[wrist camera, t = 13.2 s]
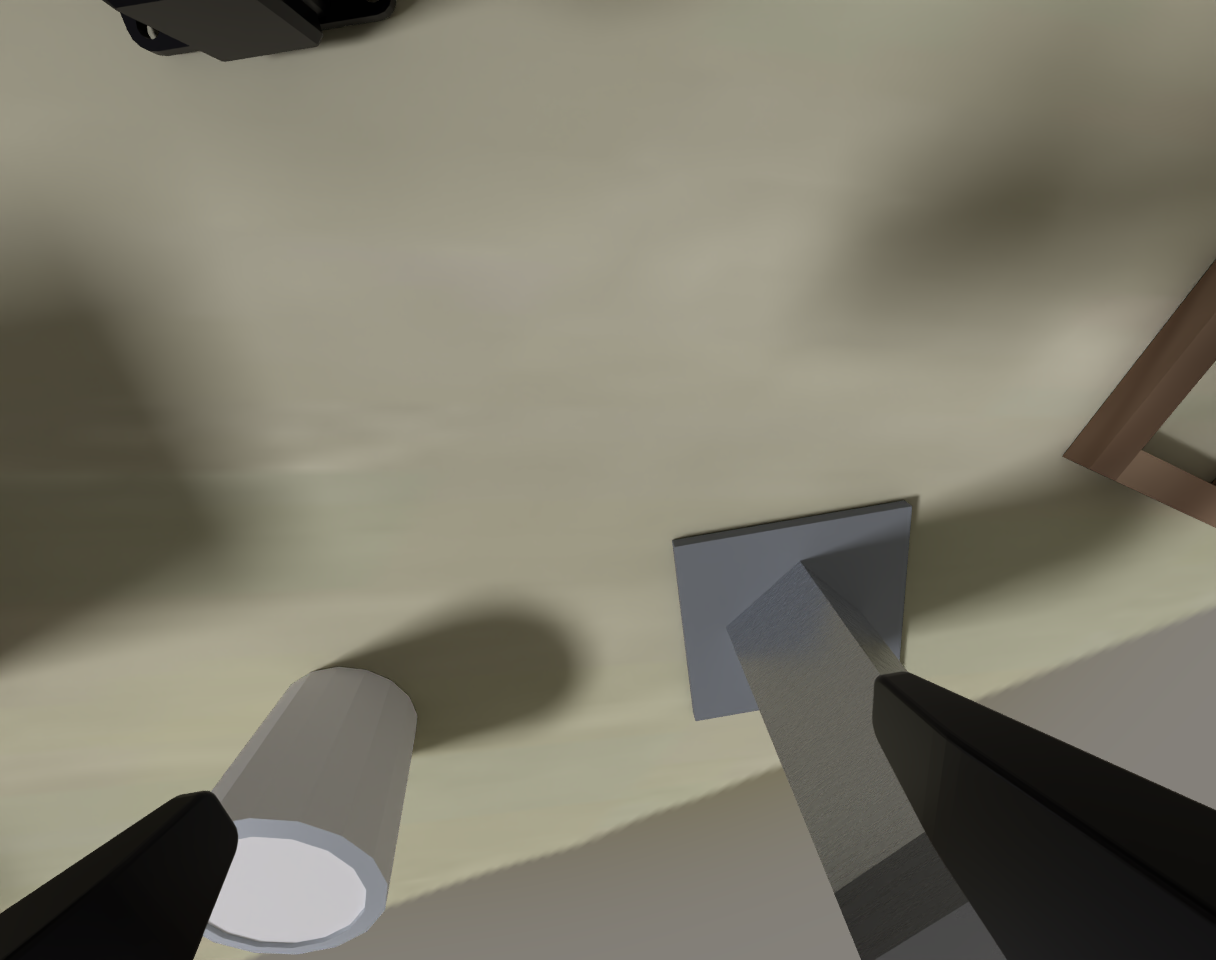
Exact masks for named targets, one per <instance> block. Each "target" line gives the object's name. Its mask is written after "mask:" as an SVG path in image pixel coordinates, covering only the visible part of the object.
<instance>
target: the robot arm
mask: <svg viewBox="0 0 1216 960" xmlns="http://www.w3.org/2000/svg"><path fill="white" fill-rule="evenodd" d="M103 1H104V2H105V3H107V4H108V5H110V6H111V7H112V8H114V9H115V10H117V11H119V12H120V13H121V16H122V18H123V21H124V23H125V26H126V28H127V30H128V32H129V34H130V35H131V37H132V39H133V40H134V41H135V42H136V43H137V44H138V45H139V46H140V47H142V48H144V49H146V50H148V51H150V52H153V53H155V54H158V55H162V56H170V55H176V54H182V53H188V52H194V51H202V52H204V53H206V54H208V55H210V56H212V57H214V58H216V59H218V60H220V61H224V62H226V61H233V60H239V59H245V58H251V57H257V56H263V55H269V54H275V53H281V52H287V51H293V50H299V49H305V48H311V47H316V46H318V45H319V43H320V41H321V39H322V38H323V32H322V30H326V29H332V28H338V27H344V26H350V25H356V24H363V23H369V22H375V21H381V20H384V19H386V18H388V17H389V16H390V15H391V14H392V13H393V11H394V9H395V5H396V0H379V1H377V2H375V3H372V2H368V1H367V0H103ZM147 25H148V26H150V27H152V28H154V29H156V30H158V31H159V34H158V37H157V38H155V39H153V40H152V39H151V37H150V36H149V34H148V31H147ZM872 724H873V729H874V733H875V735H876V738H877V740H878V742H879V744H880V746H881V748H882V750H883V752H884V754H885V756H886V758H887V760H888V762H889V764H890V766H891V768H892V769H893V771H894V773H895V775H896V777H897V779H898V781H899V783H900V785H901V787H902V789H903V791H904V793H905V794H906V796H907V798H908V800H909V802H910V804H911V806H912V808H913V810H914V812H915V814H916V816H917V818H918V819H919V821H920V823H921V825H922V827H923V829H924V831H925V833H926V834H927V836H928V838H929V840H930V842H931V843H932V845H933V847H934V848H935V850H936V852H937V853H938V855H939V856H940V858H941V860H942V861H943V863H944V865H945V866H946V868H947V869H948V871H949V872H950V874H951V875H952V877H953V878H954V880H955V881H956V883H957V884H958V886H959V887H960V889H961V890H962V892H963V894H964V895H965V897H966V898H967V900H968V901H969V903H970V904H971V906H972V907H973V909H974V910H975V912H976V913H977V915H978V916H979V918H980V920H981V921H982V923H983V924H984V926H985V927H986V929H987V930H988V932H989V933H990V935H991V936H992V938H993V939H994V941H995V942H996V944H997V946H998V947H999V949H1000V950H1001V952H1002V953H1003V955H1004V956H1005V958H1006V959H1007V960H1216V810H1214V809H1212V808H1210V807H1208V806H1205V805H1203V804H1201V803H1198V802H1197V801H1194V800H1192V799H1190V798H1188V797H1185V796H1183V795H1181V794H1179V793H1177V792H1174V791H1172V790H1170V789H1167V788H1165V787H1163V786H1161V785H1159V784H1157V783H1154V782H1152V781H1150V780H1148V779H1145V778H1143V777H1141V776H1139V775H1136V774H1134V773H1132V772H1130V771H1128V770H1125V769H1123V768H1121V767H1119V766H1116V765H1114V764H1112V763H1110V762H1108V761H1105V760H1103V759H1101V758H1099V757H1096V756H1094V755H1092V754H1090V753H1087V752H1085V751H1083V750H1081V749H1079V748H1076V747H1074V746H1072V745H1070V744H1067V743H1065V742H1063V741H1061V740H1059V739H1056V738H1054V737H1052V736H1050V735H1047V734H1045V733H1043V732H1041V731H1038V730H1036V729H1034V728H1032V727H1030V726H1027V725H1025V724H1023V723H1021V722H1019V721H1016V720H1014V719H1012V718H1009V717H1007V716H1005V715H1003V714H1001V713H999V712H996V711H994V710H992V709H990V708H987V707H985V706H983V705H981V704H978V703H976V702H974V701H972V700H970V699H967V698H965V697H963V696H961V695H958V694H956V693H954V692H952V691H950V690H947V689H945V688H943V687H941V686H938V685H936V684H934V683H932V682H930V681H927V680H925V679H923V678H921V677H918V676H916V675H914V674H912V673H909V672H905V671H901V672H895V673H889V674H883V675H879V676H878V677H877V678H876V679H875V681H874V691H873V708H872ZM237 845H238V831H237V828H236V826H235V824H234V822H233V821H232V819H231V818H230V816H229V815H228V813H227V812H226V810H225V809H224V807H223V806H222V804H221V803H220V801H219V800H218V798H217V796H216V795H215V794H214V793H212V792H210V791H199V792H194V793H188V794H182V795H179V796H176V797H175V798H173V799H171V800H169V801H168V802H166V803H165V804H163V805H162V806H160V807H159V808H157V809H156V810H154V811H153V812H151V813H150V814H148V815H147V816H145V817H144V818H142V819H141V820H139V821H138V822H136V823H135V824H133V825H132V826H130V827H129V828H127V829H126V830H124V831H123V832H121V833H120V834H119V835H117V836H116V837H114V838H113V839H111V840H110V841H108V842H107V843H105V844H104V845H102V846H101V847H99V848H98V849H96V850H95V851H93V852H92V853H90V854H89V855H87V856H86V857H84V858H83V859H81V860H80V861H78V862H77V863H75V864H74V865H72V866H71V867H69V868H68V869H66V870H65V871H63V872H62V873H60V874H59V875H57V876H56V877H54V878H53V879H51V880H50V881H48V882H47V883H45V884H44V885H42V886H41V887H39V888H38V889H36V890H35V891H33V892H32V893H30V894H29V895H27V896H26V897H24V898H23V899H21V900H20V901H18V902H17V903H15V904H14V905H12V906H11V907H9V908H8V909H6V910H5V911H3V912H2V913H0V960H193V959H194V956H195V954H196V952H197V949H198V947H199V944H200V942H201V939H202V936H203V934H204V931H205V929H206V926H207V924H208V921H209V919H210V916H211V914H212V911H213V909H214V906H215V904H216V901H217V899H218V896H219V894H220V891H221V889H222V886H223V884H224V881H225V879H226V876H227V873H228V871H229V868H230V866H231V863H232V861H233V858H234V856H235V853H236V850H237Z"/></svg>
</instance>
